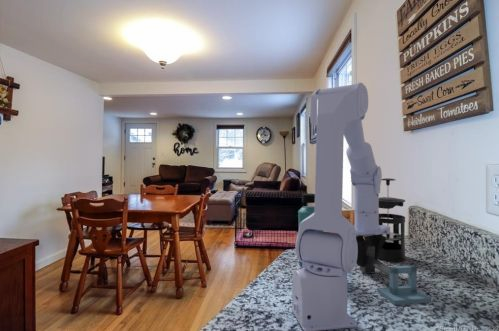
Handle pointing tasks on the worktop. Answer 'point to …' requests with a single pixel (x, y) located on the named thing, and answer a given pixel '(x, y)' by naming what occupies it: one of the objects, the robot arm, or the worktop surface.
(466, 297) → the worktop surface
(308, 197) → the beverage bottle
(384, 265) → the hook rod
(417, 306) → the worktop surface
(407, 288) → the eye bracket
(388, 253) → the french press
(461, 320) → the worktop surface
